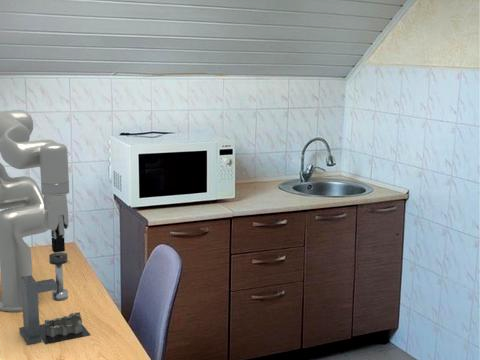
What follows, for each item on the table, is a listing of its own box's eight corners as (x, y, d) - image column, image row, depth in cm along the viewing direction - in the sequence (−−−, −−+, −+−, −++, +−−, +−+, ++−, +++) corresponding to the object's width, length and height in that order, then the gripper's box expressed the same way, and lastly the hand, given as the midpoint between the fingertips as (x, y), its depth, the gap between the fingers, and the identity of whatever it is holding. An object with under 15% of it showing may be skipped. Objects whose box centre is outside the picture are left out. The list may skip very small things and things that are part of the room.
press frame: (18, 329, 198) (14, 273, 195) (77, 318, 206) (74, 264, 203) (28, 348, 186) (25, 289, 183) (90, 336, 195) (88, 279, 191)
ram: (49, 296, 196) (47, 253, 194) (66, 293, 199) (64, 251, 196) (53, 302, 192) (51, 258, 189) (71, 299, 194) (69, 256, 192)
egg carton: (82, 324, 202) (81, 311, 201) (83, 334, 195) (82, 321, 194) (44, 327, 199) (44, 314, 198) (44, 338, 192) (44, 324, 191)
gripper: (35, 184, 193) (39, 246, 197) (48, 194, 180) (51, 260, 184) (61, 182, 197) (64, 242, 200) (76, 191, 184) (79, 256, 188)
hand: (58, 251), depth 192 cm, fingers closed
